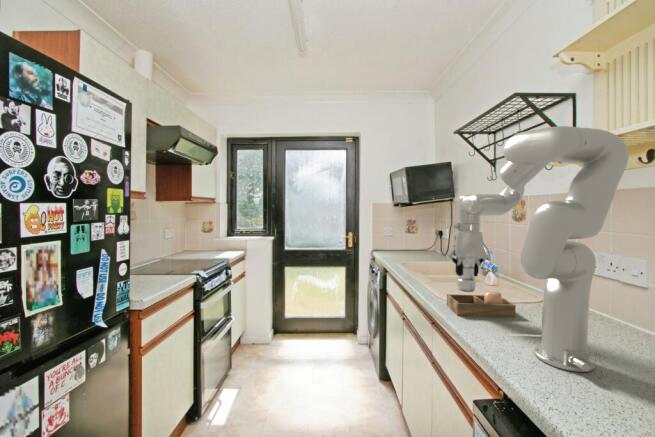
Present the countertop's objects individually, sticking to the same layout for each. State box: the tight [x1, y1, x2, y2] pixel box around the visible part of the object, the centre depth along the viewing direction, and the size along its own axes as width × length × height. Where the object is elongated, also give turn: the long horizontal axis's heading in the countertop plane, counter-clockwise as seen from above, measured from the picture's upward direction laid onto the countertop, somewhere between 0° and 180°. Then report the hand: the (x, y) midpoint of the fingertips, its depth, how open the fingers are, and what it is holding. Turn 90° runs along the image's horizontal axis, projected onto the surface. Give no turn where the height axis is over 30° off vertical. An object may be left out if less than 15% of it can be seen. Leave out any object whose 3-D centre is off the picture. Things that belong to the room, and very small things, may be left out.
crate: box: [446, 293, 516, 318], centre depth 115 cm, size 12×20×5 cm, turn 87°
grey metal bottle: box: [456, 251, 477, 293], centre depth 115 cm, size 6×7×20 cm
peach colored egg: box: [483, 290, 502, 304], centre depth 115 cm, size 6×6×7 cm
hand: (466, 274), depth 115 cm, fingers closed on grey metal bottle, 5 cm apart
